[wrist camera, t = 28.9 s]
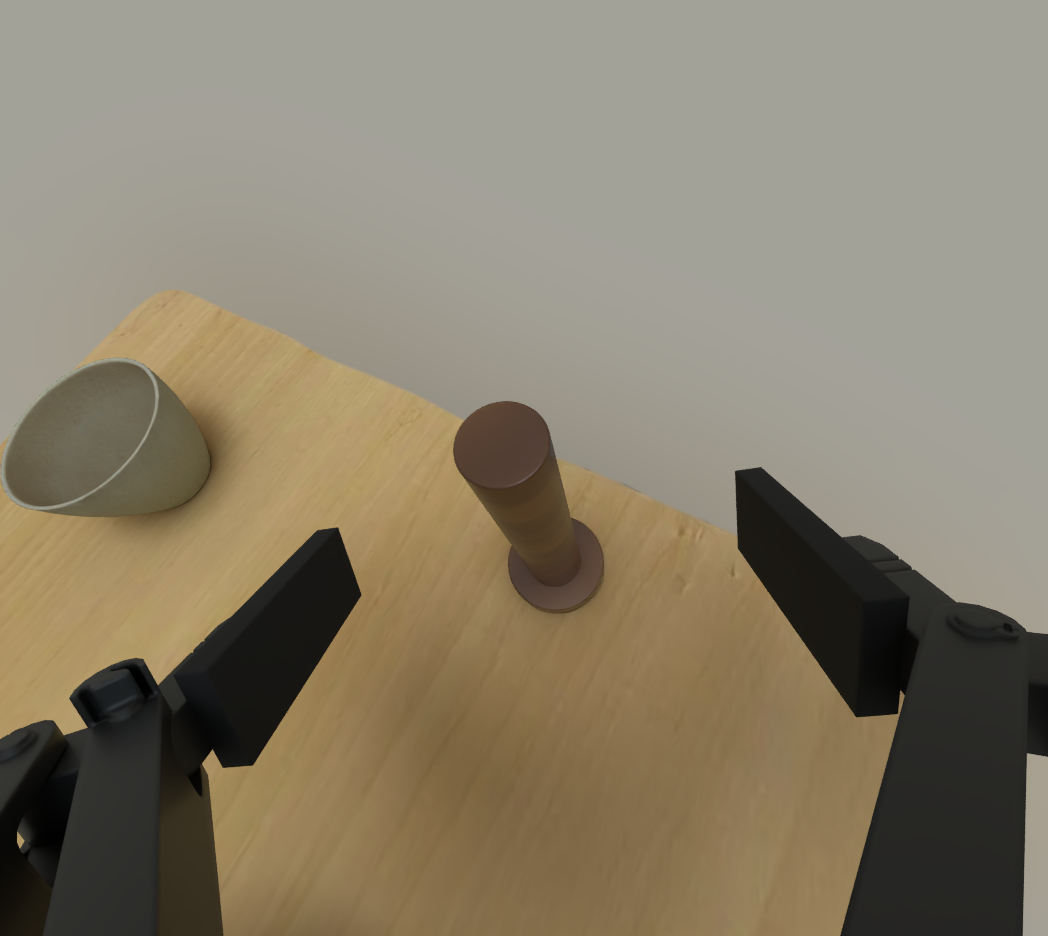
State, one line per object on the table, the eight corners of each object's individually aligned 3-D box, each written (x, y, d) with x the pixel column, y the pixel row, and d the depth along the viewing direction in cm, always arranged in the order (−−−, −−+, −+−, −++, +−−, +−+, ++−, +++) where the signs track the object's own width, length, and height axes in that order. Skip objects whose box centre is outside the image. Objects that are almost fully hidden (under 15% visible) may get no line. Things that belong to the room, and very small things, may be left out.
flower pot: (137, 424, 37) (37, 369, 31) (255, 407, 36) (177, 346, 29) (94, 551, 33) (-32, 517, 26) (226, 537, 32) (127, 499, 25)
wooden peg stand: (621, 551, 27) (629, 411, 13) (571, 633, 26) (523, 570, 12) (544, 505, 29) (482, 342, 15) (494, 579, 27) (376, 472, 14)
